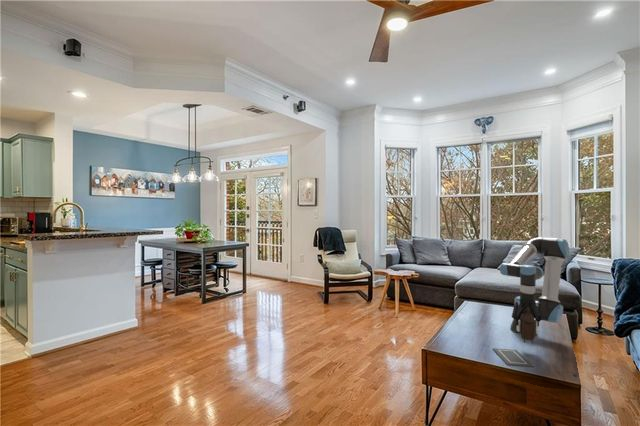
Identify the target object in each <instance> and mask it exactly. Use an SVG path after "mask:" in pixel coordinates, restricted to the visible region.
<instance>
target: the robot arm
mask: <svg viewBox="0 0 640 426" xmlns="http://www.w3.org/2000/svg"><path fill="white" fill-rule="evenodd" d="M520 248H521V249H520V250H519V251H518V252H517V253H515V256H513V257H512V259H510V260H509V262H508V263H507V262H503V263H501V264H500V265H499V272H500V274H501V275H502V276H507V277H513V278H519V279H520V280H519V281H520V282H519V286H520V287H519V295H518V296H516V297H514V301H513V309H512V313H511V318H512V322H511V323H510V330H511V331H512V332H514V333H517V334H520V317H521V315H522V313H523V311H524V310H525V309H527V307H529V309H530V310H531V311H532V313H533V316H534V320H535V336H536V335H537V334H538V328H539V327H540V322H541V321H544V322H548V323H555V324H556V323H559V322H560V321H561V319H562V317H563V314H564V306H563V305H562V304H561V301H560V300H559V292H560V291H559V289H560V281H561V273H562V264H563V262H565V261H566V258H569V257H570V246H569V242H568V240H567V239H564V238H557V237H534V238H531V239H529V240H527V241H526V242H524V243H523V244H522V245H521V247H520ZM536 255H541V256H542V255H543V258H544V259H545V266H544V270H543V268H542V267H540V266H536V265H532V264H527V263H528V262H529V260H530V259H531V258H532V257H534V256H536ZM541 278H543V282H542V292H541V295H540V296H539V297H538V300H537V299H536V286H537V284H536V282H537V280H540V279H541Z"/></svg>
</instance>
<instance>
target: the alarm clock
mask: <svg viewBox="0 0 640 426" xmlns="http://www.w3.org/2000/svg"><path fill="white" fill-rule="evenodd" d="M535 320H536V319H535V318H534V316H533V313H532V311H531V310H530V309H529V307H527V309H525V310H524V311H523V313H522V315H521V317H520V333H519V335H520V337H521V339H522V340H523V343H524V344H525V343H526V341H531V343H532V344H533V343H534V341H535V337H536V335H535Z"/></svg>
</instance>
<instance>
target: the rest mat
mask: <svg viewBox="0 0 640 426" xmlns="http://www.w3.org/2000/svg"><path fill="white" fill-rule="evenodd" d="M492 351H493V352H494V353H495V354H496V355H498V357H499V358H500V359H501V360H502V361H503V363H505V365H507V366H514V367H528V368H534V367H535V366H534V364H532V362H530V360H528V359H527V358H526V357H525V356H524V355H523V354H522V353H521V352H519V350H517V349H507V348H492Z"/></svg>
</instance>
